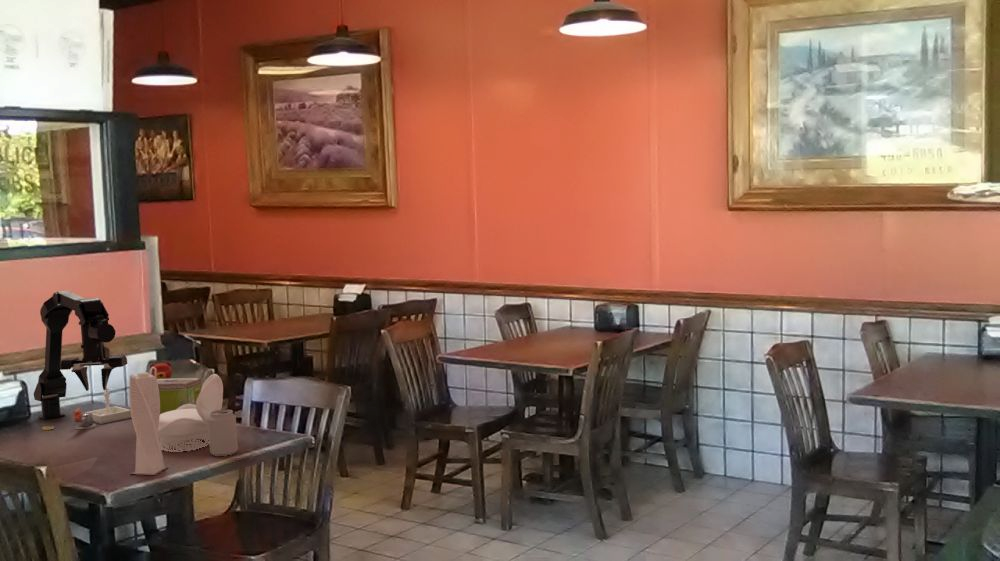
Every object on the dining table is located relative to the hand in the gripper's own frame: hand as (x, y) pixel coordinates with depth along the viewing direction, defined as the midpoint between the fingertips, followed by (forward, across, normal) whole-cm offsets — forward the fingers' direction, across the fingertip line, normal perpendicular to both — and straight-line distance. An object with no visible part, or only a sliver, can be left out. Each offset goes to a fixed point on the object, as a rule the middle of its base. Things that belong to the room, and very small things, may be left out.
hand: (96, 390), depth 320 cm
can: (+13, -46, +34) cm, 59 cm away
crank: (+12, +6, -3) cm, 14 cm away
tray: (+13, +3, -18) cm, 22 cm away
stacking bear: (+13, -15, -17) cm, 26 cm away
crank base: (+13, +7, -7) cm, 16 cm away
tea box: (+13, -23, -2) cm, 27 cm away
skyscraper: (+13, -31, +50) cm, 60 cm away
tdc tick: (+13, +18, -6) cm, 23 cm away
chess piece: (+13, +3, -18) cm, 22 cm away
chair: (+13, -34, +22) cm, 43 cm away
